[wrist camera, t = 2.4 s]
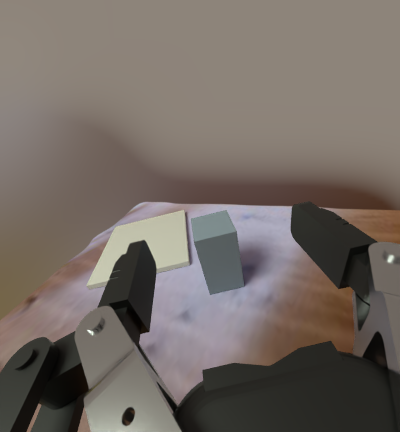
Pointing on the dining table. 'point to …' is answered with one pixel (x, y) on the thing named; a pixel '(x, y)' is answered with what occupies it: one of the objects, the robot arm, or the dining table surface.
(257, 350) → the dining table surface
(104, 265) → the cream tile
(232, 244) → the slate block
